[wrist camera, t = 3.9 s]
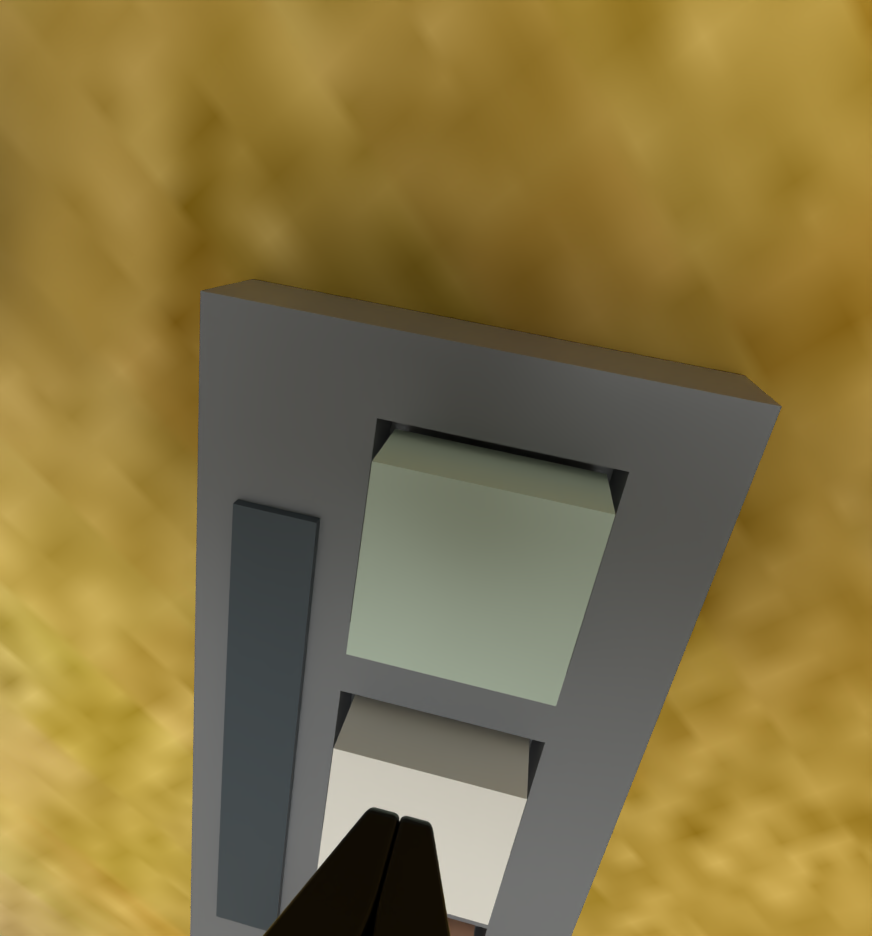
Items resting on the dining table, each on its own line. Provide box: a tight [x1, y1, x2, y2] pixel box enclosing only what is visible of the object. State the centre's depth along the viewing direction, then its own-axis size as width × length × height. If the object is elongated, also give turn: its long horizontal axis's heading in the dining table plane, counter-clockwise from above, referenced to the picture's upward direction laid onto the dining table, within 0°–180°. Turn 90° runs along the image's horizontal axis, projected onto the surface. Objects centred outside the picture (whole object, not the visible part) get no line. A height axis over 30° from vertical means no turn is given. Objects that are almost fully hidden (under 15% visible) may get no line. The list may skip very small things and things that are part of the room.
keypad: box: [190, 279, 782, 936], centre depth 22 cm, size 14×29×3 cm, turn 170°
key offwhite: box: [317, 694, 529, 925], centre depth 20 cm, size 6×6×2 cm
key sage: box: [346, 429, 615, 706], centre depth 17 cm, size 6×6×2 cm
